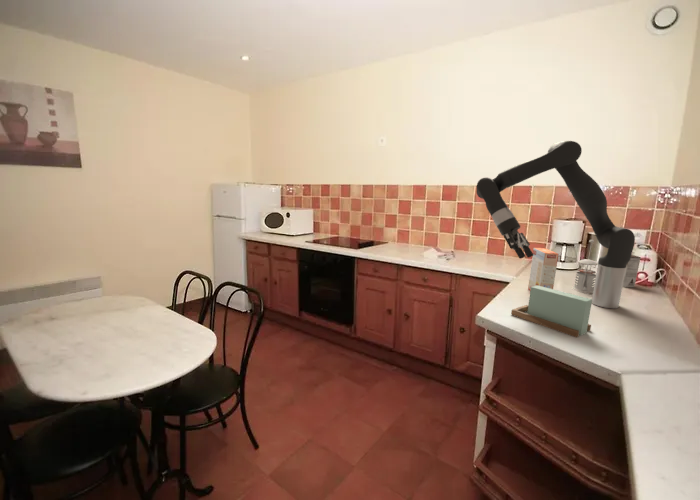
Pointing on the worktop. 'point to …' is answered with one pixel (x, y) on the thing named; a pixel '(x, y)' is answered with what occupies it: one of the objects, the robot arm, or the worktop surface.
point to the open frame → (545, 321)
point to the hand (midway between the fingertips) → (527, 257)
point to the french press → (585, 276)
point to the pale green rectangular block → (560, 307)
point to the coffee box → (631, 271)
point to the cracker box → (543, 268)
